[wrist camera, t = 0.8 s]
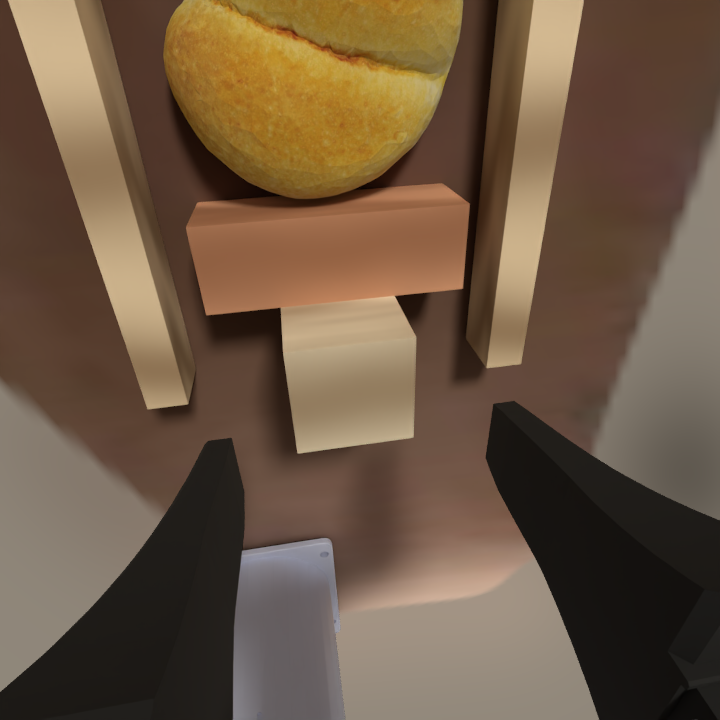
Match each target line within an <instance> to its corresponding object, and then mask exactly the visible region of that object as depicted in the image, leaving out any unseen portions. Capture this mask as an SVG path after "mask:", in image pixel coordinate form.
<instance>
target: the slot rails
mask: <svg viewBox="0 0 720 720" xmlns="http://www.w3.org/2000/svg"><path fill="white" fill-rule="evenodd" d="M8 1H9V4H10V7H11V10H12V13H13V16H14V19H15V22H16V24H17V27H18V30H19V33H20V36H21V39H22V42H23V45H24V48H25V51H26V54H27V57H28V60H29V63H30V66H31V68H32V71H33V74H34V77H35V80H36V83H37V86H38V89H39V92H40V95H41V98H42V101H43V104H44V107H45V109H46V112H47V115H48V118H49V121H50V124H51V127H52V130H53V133H54V136H55V139H56V142H57V145H58V148H59V150H60V153H61V156H62V159H63V162H64V165H65V168H66V171H67V174H68V177H69V180H70V183H71V186H72V189H73V192H74V194H75V197H76V200H77V203H78V206H79V209H80V212H81V215H82V218H83V221H84V224H85V227H86V230H87V233H88V235H89V238H90V241H91V244H92V247H93V250H94V253H95V256H96V259H97V262H98V265H99V268H100V271H101V274H102V277H103V279H104V282H105V285H106V288H107V291H108V294H109V297H110V300H111V303H112V306H113V309H114V312H115V315H116V318H117V320H118V323H119V326H120V329H121V332H122V335H123V338H124V341H125V344H126V347H127V350H128V353H129V356H130V359H131V362H132V364H133V367H134V370H135V373H136V376H137V379H138V382H139V385H140V388H141V391H142V394H143V397H144V400H145V403H146V405H147V408H148V409H155V408H163V407H171V406H179V405H187V404H188V403H189V399H190V394H191V390H192V385H193V381H194V376H195V372H196V367H195V363H194V359H193V355H192V351H191V347H190V343H189V340H188V336H187V332H186V328H185V324H184V320H183V316H182V313H181V309H180V305H179V301H178V297H177V293H176V289H175V285H174V282H173V278H172V274H171V270H170V266H169V262H168V258H167V254H166V251H165V247H164V243H163V239H162V235H161V231H160V227H159V224H158V220H157V216H156V212H155V208H154V204H153V200H152V196H151V193H150V189H149V185H148V181H147V177H146V173H145V169H144V165H143V162H142V158H141V154H140V150H139V146H138V142H137V138H136V135H135V131H134V127H133V123H132V119H131V115H130V111H129V107H128V104H127V100H126V96H125V92H124V88H123V84H122V80H121V77H120V73H119V69H118V65H117V61H116V57H115V53H114V49H113V46H112V42H111V38H110V34H109V30H108V26H107V22H106V18H105V15H104V11H103V7H102V3H101V0H8ZM583 2H584V0H499V2H498V12H497V23H496V33H495V43H494V53H493V64H492V74H491V84H490V95H489V105H488V115H487V125H486V136H485V146H484V156H483V167H482V177H481V187H480V198H479V208H478V218H477V228H476V239H475V249H474V259H473V270H472V280H471V290H470V300H469V311H468V321H467V331H466V339H467V341H468V342H469V344H470V345H471V347H472V348H473V350H474V351H475V352H476V354H477V355H478V357H479V358H480V360H481V361H482V362H483V364H484V365H485V367H486V368H492V367H500V366H508V365H517V364H521V360H522V354H523V349H524V343H525V337H526V331H527V325H528V320H529V314H530V308H531V302H532V297H533V291H534V285H535V279H536V274H537V268H538V262H539V256H540V250H541V245H542V239H543V233H544V227H545V222H546V216H547V210H548V204H549V199H550V193H551V187H552V181H553V175H554V170H555V164H556V158H557V152H558V147H559V141H560V135H561V129H562V124H563V118H564V112H565V106H566V100H567V95H568V89H569V83H570V77H571V72H572V66H573V60H574V54H575V49H576V43H577V37H578V31H579V25H580V20H581V14H582V8H583Z"/></svg>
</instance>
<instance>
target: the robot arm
mask: <svg viewBox="0 0 720 720" xmlns="http://www.w3.org/2000/svg"><path fill="white" fill-rule="evenodd" d="M486 460H487V463H488V465H489V468H490V471H491V473H492V476H493V479H494V481H495V483H496V486H497V488H498V491H499V493H500V494H501V496H502V498H503V500H504V502H505V504H506V506H507V507H508V509H509V511H510V513H511V515H512V517H513V518H514V520H515V522H516V524H517V526H518V528H519V529H520V531H521V533H522V535H523V537H524V538H525V540H526V542H527V544H528V546H529V547H530V549H531V551H532V553H533V555H534V557H535V558H536V560H537V562H538V564H539V566H540V568H541V570H542V572H543V574H544V577H545V579H546V581H547V584H548V586H549V588H550V591H551V593H552V595H553V598H554V600H555V602H556V605H557V607H558V609H559V612H560V615H561V617H562V620H563V622H564V625H565V627H566V630H567V632H568V635H569V637H570V639H571V642H572V645H573V647H574V650H575V653H576V655H577V658H578V661H579V663H580V666H581V669H582V672H583V674H584V677H585V680H586V682H587V685H588V688H589V691H590V694H591V697H592V700H593V702H594V705H595V708H596V711H597V714H598V717H599V720H720V520H717V519H715V518H712V517H710V516H707V515H705V514H703V513H700V512H698V511H695V510H693V509H691V508H689V507H687V506H684V505H682V504H680V503H678V502H676V501H673V500H671V499H669V498H667V497H665V496H663V495H661V494H659V493H657V492H655V491H653V490H651V489H649V488H647V487H645V486H643V485H641V484H640V483H638V482H636V481H634V480H632V479H630V478H628V477H627V476H625V475H623V474H621V473H620V472H618V471H616V470H614V469H613V468H611V467H609V466H608V465H606V464H605V463H603V462H601V461H600V460H598V459H597V458H595V457H593V456H592V455H590V454H589V453H587V452H586V451H584V450H583V449H581V448H580V447H578V446H577V445H575V444H574V443H572V442H571V441H569V440H568V439H567V438H565V437H564V436H562V435H561V434H560V433H558V432H557V431H555V430H554V429H553V428H551V427H550V426H548V425H547V424H546V423H544V422H543V421H541V420H540V419H539V418H537V417H536V416H535V415H533V414H532V413H531V412H529V411H528V410H526V409H525V408H524V407H522V406H521V405H519V404H518V403H516V402H515V401H512V402H504V403H496V404H493V411H492V418H491V424H490V431H489V438H488V445H487V452H486ZM244 519H245V511H244V489H243V485H242V480H241V476H240V472H239V467H238V463H237V459H236V455H235V450H234V446H233V442H232V438H227V439H220V440H212V441H208V442H207V443H206V444H205V445H204V447H203V449H202V451H201V453H200V455H199V457H198V459H197V461H196V463H195V465H194V467H193V468H192V470H191V472H190V474H189V476H188V478H187V479H186V481H185V483H184V485H183V486H182V488H181V490H180V491H179V493H178V495H177V496H176V498H175V500H174V501H173V503H172V505H171V506H170V508H169V509H168V511H167V512H166V514H165V515H164V517H163V518H162V520H161V521H160V523H159V524H158V526H157V527H156V529H155V530H154V532H153V533H152V535H151V536H150V537H149V539H148V540H147V541H146V543H145V544H144V546H143V547H142V548H141V549H140V551H139V552H138V554H137V555H136V556H135V558H134V559H133V560H132V561H131V562H130V564H129V565H128V566H127V567H126V569H125V570H124V571H123V572H122V573H121V575H120V576H119V577H118V578H117V579H116V580H115V581H114V583H113V584H112V585H111V586H110V587H109V588H108V590H107V591H106V592H105V593H104V594H103V595H102V596H101V598H100V599H99V600H98V601H97V602H96V603H95V604H94V605H93V606H92V607H91V608H90V609H89V611H87V612H86V613H85V614H84V616H82V618H80V619H79V620H78V621H77V623H75V624H74V625H73V626H72V627H71V628H70V629H69V631H67V632H66V633H65V634H64V635H63V636H62V637H61V638H60V639H59V640H58V641H57V642H56V643H55V644H54V645H53V646H52V647H51V648H50V649H49V650H48V651H47V652H46V653H45V654H44V655H43V656H41V657H40V658H39V659H38V660H37V661H36V662H34V663H33V664H32V665H31V666H30V667H29V668H27V669H26V670H25V671H24V672H23V673H22V674H21V675H19V676H18V677H17V678H16V679H15V680H14V681H13V682H11V683H10V684H9V685H8V686H7V687H6V688H4V689H3V690H2V691H1V692H0V720H345V711H344V703H343V695H342V686H341V679H340V678H341V677H340V669H339V660H338V653H337V644H336V635H335V633H337V632H339V631H340V618H339V608H338V598H337V588H336V578H335V568H334V558H333V548H332V542H331V540H330V539H328V538H319V539H313V540H307V541H300V542H294V543H288V544H281V545H275V546H269V547H262V548H256V549H250V550H243V551H242V547H243V538H244Z"/></svg>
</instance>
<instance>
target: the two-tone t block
mask: <svg viewBox="0 0 720 720" xmlns="http://www.w3.org/2000/svg"><path fill="white" fill-rule="evenodd" d="M469 208H470V204H469V203H468V202H467V201H465V200H464V199H463V198H461V197H460V196H459V195H457V194H456V193H455V192H453V191H452V190H451V189H449V188H448V187H447V186H445V185H444V184H443V183H439V184H426V185H413V186H401V187H388V188H375V189H362V190H350V191H348V192H344V193H341V194H339V195H336V196H330V197H324V198H317V199H294V198H289V197H285V196H273V197H260V198H247V199H235V200H222V201H209V202H198V203H197V205H196V207H195V209H194V211H193V213H192V215H191V218H190V220H189V222H188V224H187V226H186V231H187V235H188V239H189V244H190V248H191V252H192V256H193V261H194V265H195V269H196V274H197V278H198V282H199V286H200V291H201V295H202V299H203V304H204V308H205V312H206V315H215V314H225V313H234V312H244V311H253V310H263V309H273V308H281V324H282V343H283V356H284V363H285V370H286V377H287V384H288V391H289V398H290V405H291V411H292V418H293V425H294V432H295V439H296V446H297V453H298V454H299V453H306V452H313V451H320V450H328V449H335V448H342V447H349V446H356V445H364V444H371V443H378V442H385V441H392V440H400V439H407V438H413V434H414V400H415V365H416V336H415V334H414V332H413V330H412V328H411V326H410V324H409V322H408V321H407V319H406V317H405V315H404V313H403V311H402V309H401V307H400V305H399V303H398V301H397V299H396V298H395V296H398V295H407V294H417V293H427V292H436V291H446V290H455V289H463V280H464V268H465V256H466V244H467V232H468V220H469Z"/></svg>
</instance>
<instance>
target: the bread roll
mask: <svg viewBox="0 0 720 720" xmlns="http://www.w3.org/2000/svg"><path fill="white" fill-rule="evenodd" d="M462 10H463V0H184V1H183V3H182V4H181V5H180V6H179V7H178V8H177V9H176V10H175V12H174V14H173V15H172V17H171V19H170V22H169V24H168V27H167V30H166V36H165V44H164V54H163V58H164V64H165V71H166V75H167V78H168V82H169V85H170V87H171V90H172V93H173V95H174V97H175V99H176V101H177V103H178V105H179V107H180V109H181V110H182V112H183V114H184V116H185V118H186V119H187V121H188V123H189V124H190V126H191V127H192V129H193V130H194V132H195V133H196V135H197V136H198V138H199V139H200V140H201V142H202V143H203V144H204V146H205V147H206V148H207V149H208V150H209V151H210V152H211V153H212V154H214V155H215V156H216V157H217V158H218V159H220V160H221V161H222V162H223V163H224V164H225V165H226V166H227V167H229V168H230V169H231V170H232V171H234V172H235V173H236V174H237V175H239V176H240V177H241V178H243V179H244V180H246V181H247V182H249V183H251V184H253V185H255V186H258V187H260V188H262V189H264V190H267V191H269V192H272V193H276V194H279V195H282V196H285V197H289V198H294V199H317V198H324V197H330V196H336V195H339V194H341V193H344V192H348V191H350V190H353V189H356V188H358V187H360V186H362V185H364V184H366V183H368V182H370V181H372V180H374V179H376V178H378V177H379V176H381V175H382V174H383V173H384V172H386V171H387V170H388V169H389V168H390V167H391V166H392V165H393V164H395V163H396V162H397V161H398V160H399V159H400V158H401V157H402V156H403V155H404V154H406V153H407V152H408V151H409V150H410V149H411V148H412V147H414V145H415V144H416V143H417V141H418V140H419V138H420V137H421V135H422V134H423V132H424V131H425V130H426V128H427V126H428V124H429V123H430V121H431V119H432V117H433V114H434V112H435V110H436V107H437V105H438V102H439V100H440V97H441V94H442V91H443V87H444V83H445V80H446V77H447V75H448V72H449V69H450V67H451V64H452V61H453V58H454V54H455V50H456V47H457V44H458V41H459V35H460V29H461V22H462Z"/></svg>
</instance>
